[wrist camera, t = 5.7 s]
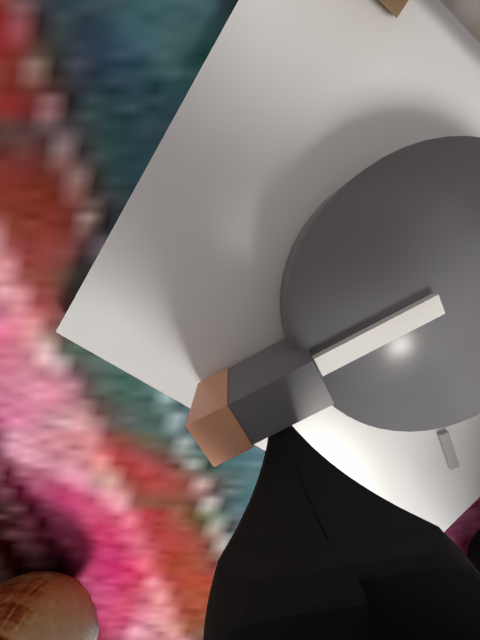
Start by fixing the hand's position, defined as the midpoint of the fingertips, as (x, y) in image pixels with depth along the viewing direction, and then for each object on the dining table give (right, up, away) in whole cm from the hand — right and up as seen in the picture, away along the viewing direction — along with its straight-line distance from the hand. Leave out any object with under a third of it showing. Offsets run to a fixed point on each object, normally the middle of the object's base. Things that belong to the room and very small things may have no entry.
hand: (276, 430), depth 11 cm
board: (+6, +6, +1) cm, 9 cm away
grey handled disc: (+4, +5, 0) cm, 6 cm away
